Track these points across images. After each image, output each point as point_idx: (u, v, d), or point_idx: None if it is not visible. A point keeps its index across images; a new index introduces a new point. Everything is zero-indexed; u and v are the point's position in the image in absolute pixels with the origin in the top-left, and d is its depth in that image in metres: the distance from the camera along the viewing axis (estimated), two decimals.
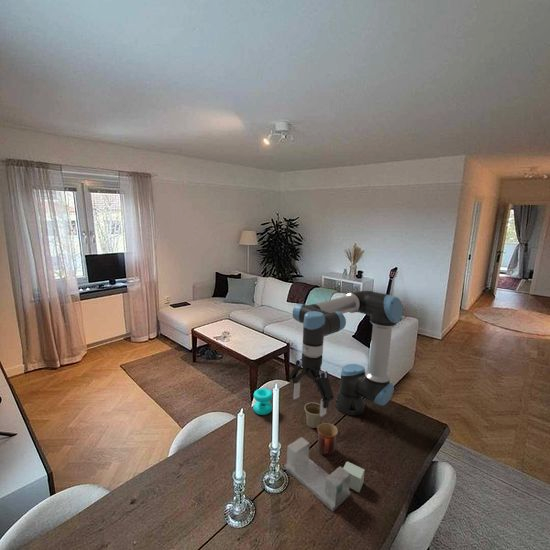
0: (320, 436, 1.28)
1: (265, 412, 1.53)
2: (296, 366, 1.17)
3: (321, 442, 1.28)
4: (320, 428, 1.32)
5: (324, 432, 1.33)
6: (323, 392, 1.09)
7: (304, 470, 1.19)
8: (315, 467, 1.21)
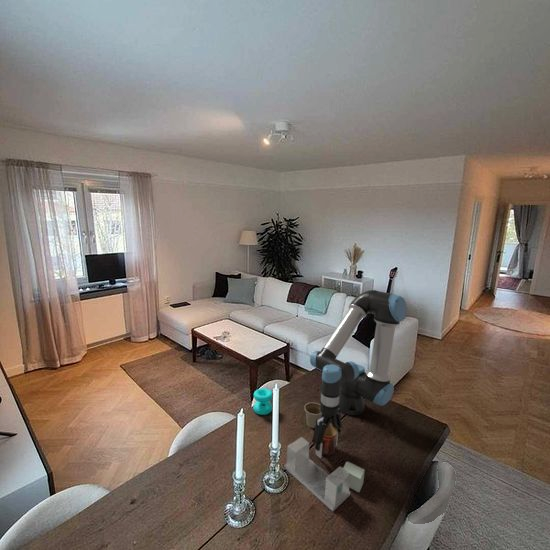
0: None
1: (265, 412, 1.53)
2: None
3: (321, 442, 1.28)
4: None
5: None
6: None
7: (304, 470, 1.19)
8: (315, 467, 1.21)
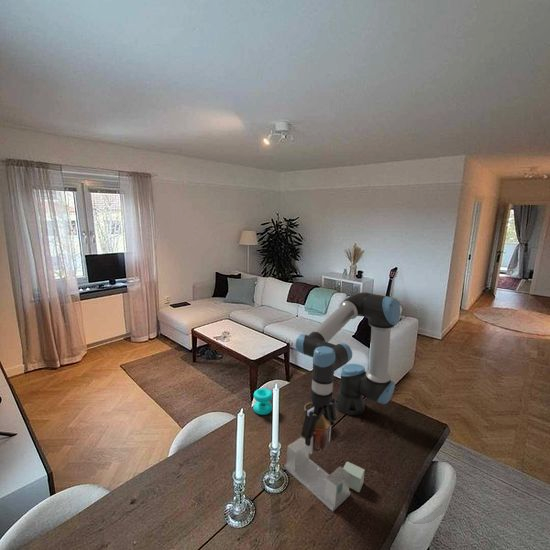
0: None
1: (265, 412, 1.53)
2: None
3: None
4: None
5: None
6: None
7: (304, 470, 1.19)
8: (315, 467, 1.21)
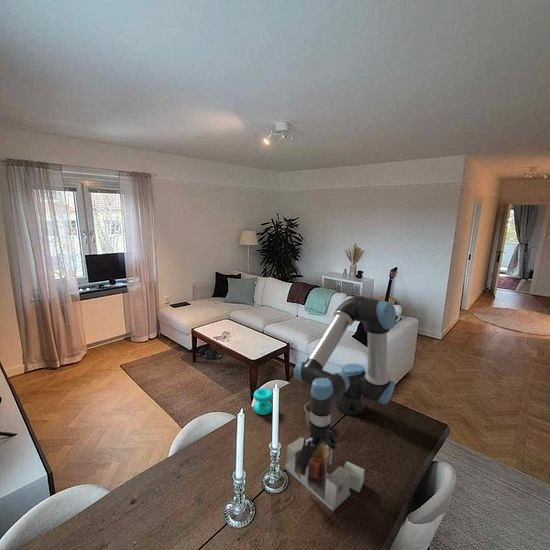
0: None
1: (265, 412, 1.53)
2: None
3: (310, 466, 1.14)
4: None
5: (314, 453, 1.19)
6: None
7: None
8: None
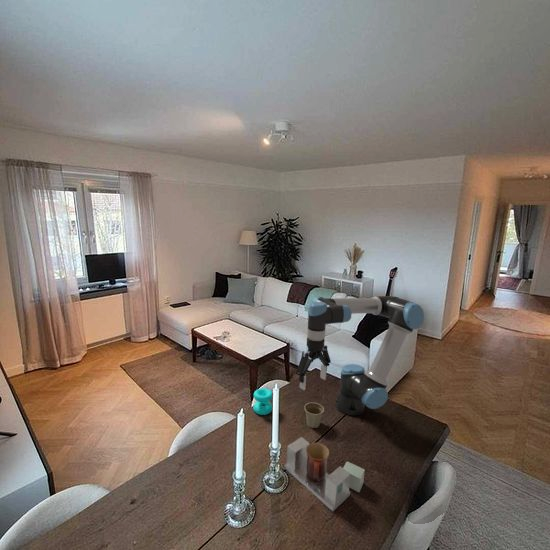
0: (309, 459, 1.13)
1: (265, 412, 1.53)
2: None
3: (310, 466, 1.14)
4: (310, 449, 1.18)
5: (314, 453, 1.19)
6: None
7: (304, 470, 1.19)
8: None
